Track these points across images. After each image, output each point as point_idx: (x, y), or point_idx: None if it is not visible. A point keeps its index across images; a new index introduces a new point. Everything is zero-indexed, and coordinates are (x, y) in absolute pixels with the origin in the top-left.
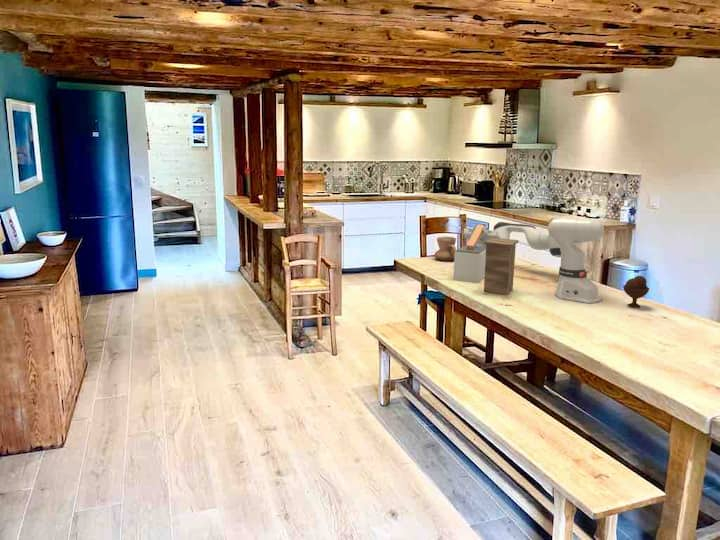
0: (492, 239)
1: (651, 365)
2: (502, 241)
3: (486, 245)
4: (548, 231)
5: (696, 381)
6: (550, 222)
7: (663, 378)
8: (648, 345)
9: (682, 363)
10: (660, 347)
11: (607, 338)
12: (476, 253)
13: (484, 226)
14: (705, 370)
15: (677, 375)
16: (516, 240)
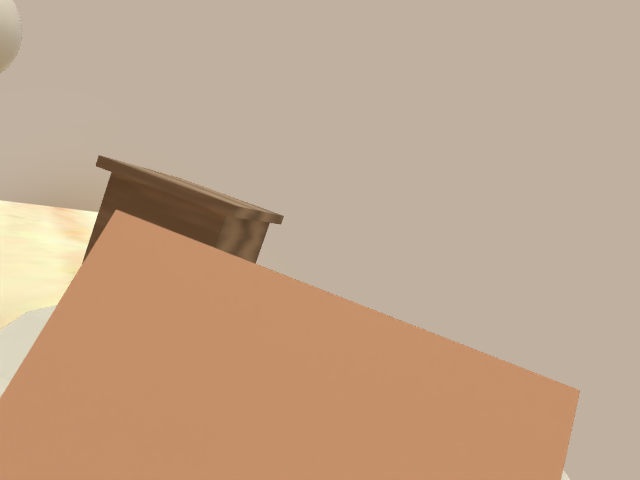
0: (237, 203)
1: (77, 224)
2: (198, 187)
3: (267, 227)
4: (7, 56)
5: (62, 211)
6: (14, 10)
7: (92, 221)
8: (18, 222)
9: (31, 211)
10: (6, 216)
11: (62, 242)
12: None
13: (79, 293)
14: (22, 204)
15: (70, 216)
16: (114, 160)
